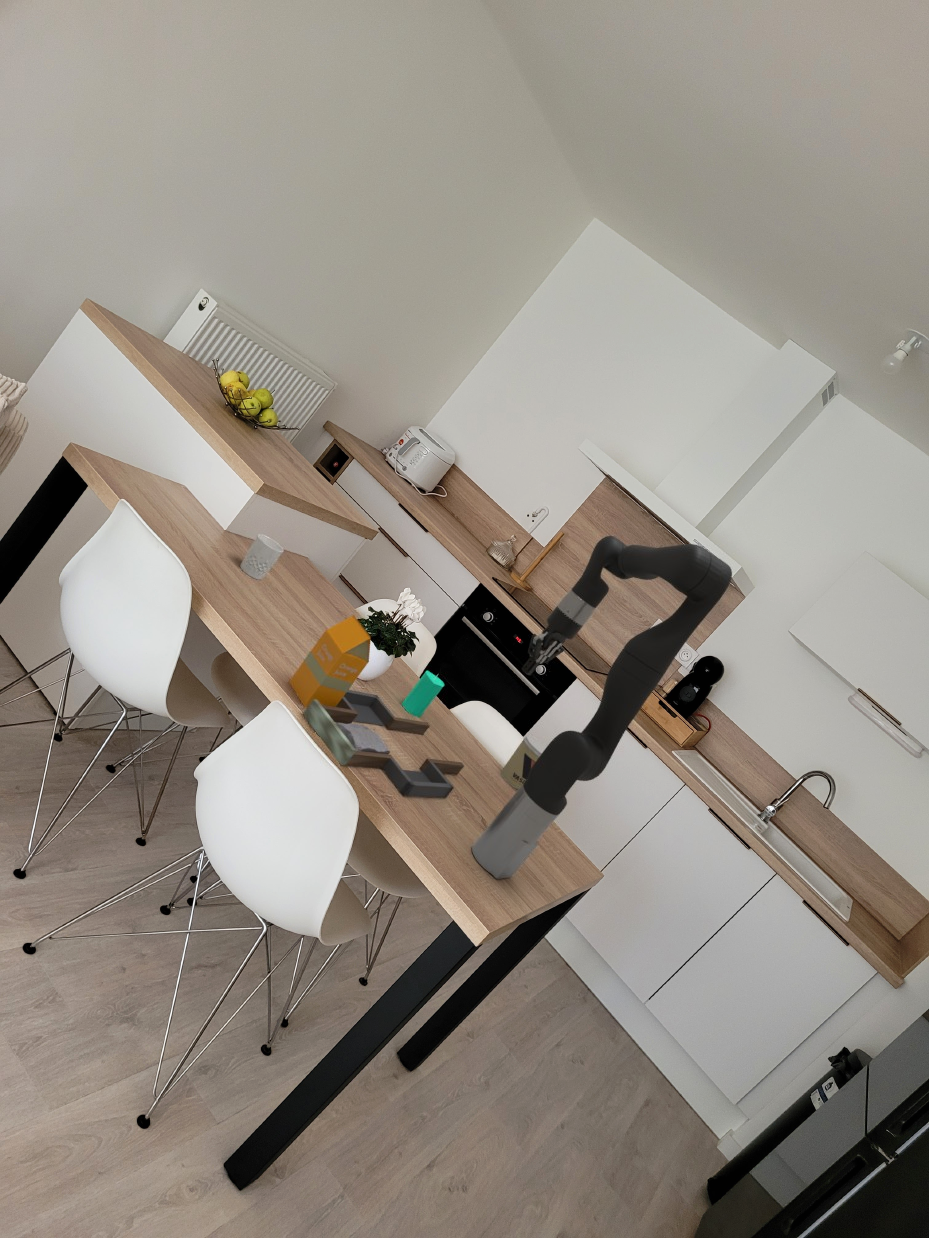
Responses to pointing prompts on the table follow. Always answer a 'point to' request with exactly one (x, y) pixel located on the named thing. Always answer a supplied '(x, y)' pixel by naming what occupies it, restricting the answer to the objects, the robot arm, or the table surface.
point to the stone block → (363, 738)
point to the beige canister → (522, 761)
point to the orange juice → (333, 664)
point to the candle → (422, 694)
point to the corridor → (347, 755)
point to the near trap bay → (418, 780)
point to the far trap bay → (366, 708)
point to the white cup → (261, 557)
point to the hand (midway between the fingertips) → (525, 672)
